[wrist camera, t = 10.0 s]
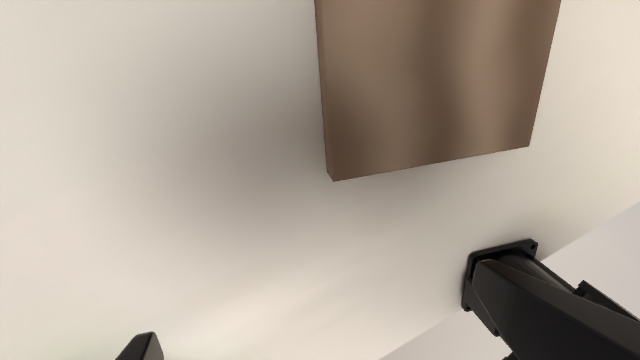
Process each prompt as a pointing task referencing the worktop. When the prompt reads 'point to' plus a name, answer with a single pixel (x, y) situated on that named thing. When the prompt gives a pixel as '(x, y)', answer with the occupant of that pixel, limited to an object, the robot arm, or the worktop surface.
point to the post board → (428, 79)
